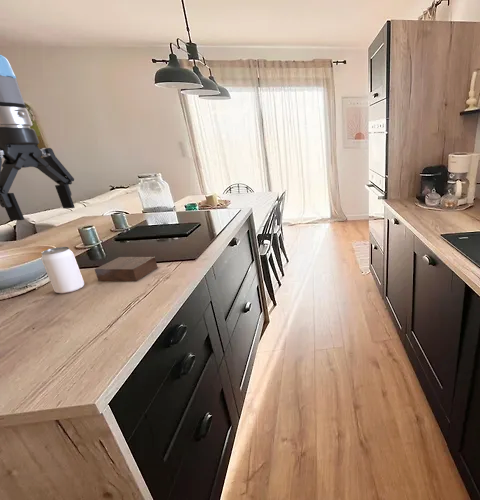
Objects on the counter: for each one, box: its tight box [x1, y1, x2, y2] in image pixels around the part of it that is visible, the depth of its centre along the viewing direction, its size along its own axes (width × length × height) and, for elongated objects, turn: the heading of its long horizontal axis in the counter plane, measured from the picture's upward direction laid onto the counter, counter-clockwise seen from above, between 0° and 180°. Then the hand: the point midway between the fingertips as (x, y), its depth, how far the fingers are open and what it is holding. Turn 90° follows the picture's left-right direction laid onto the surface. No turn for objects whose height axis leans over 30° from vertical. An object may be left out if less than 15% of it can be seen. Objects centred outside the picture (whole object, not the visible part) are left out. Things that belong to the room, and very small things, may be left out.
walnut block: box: [94, 256, 159, 282], centre depth 92 cm, size 12×10×4 cm
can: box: [40, 246, 85, 295], centre depth 81 cm, size 6×6×12 cm
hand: (45, 213), depth 77 cm, fingers open, 13 cm apart
